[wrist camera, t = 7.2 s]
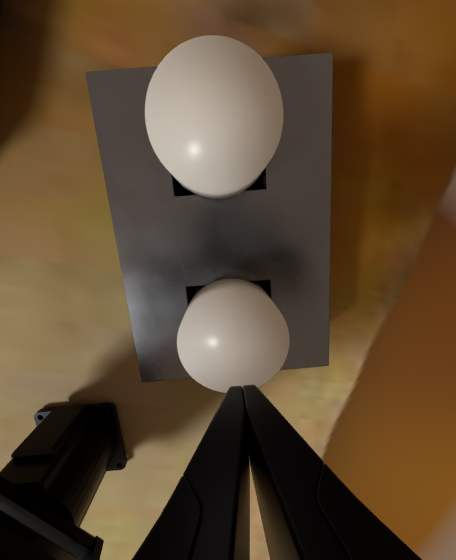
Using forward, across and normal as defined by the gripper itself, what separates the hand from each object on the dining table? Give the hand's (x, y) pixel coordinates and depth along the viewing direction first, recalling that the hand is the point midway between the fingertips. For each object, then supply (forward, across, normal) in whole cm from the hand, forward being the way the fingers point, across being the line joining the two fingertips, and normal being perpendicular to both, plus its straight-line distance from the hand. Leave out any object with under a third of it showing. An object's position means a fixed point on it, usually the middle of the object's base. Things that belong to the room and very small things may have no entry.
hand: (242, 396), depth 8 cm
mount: (+11, 0, -5) cm, 12 cm away
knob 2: (+10, 0, 0) cm, 10 cm away
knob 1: (+10, 0, -10) cm, 14 cm away
